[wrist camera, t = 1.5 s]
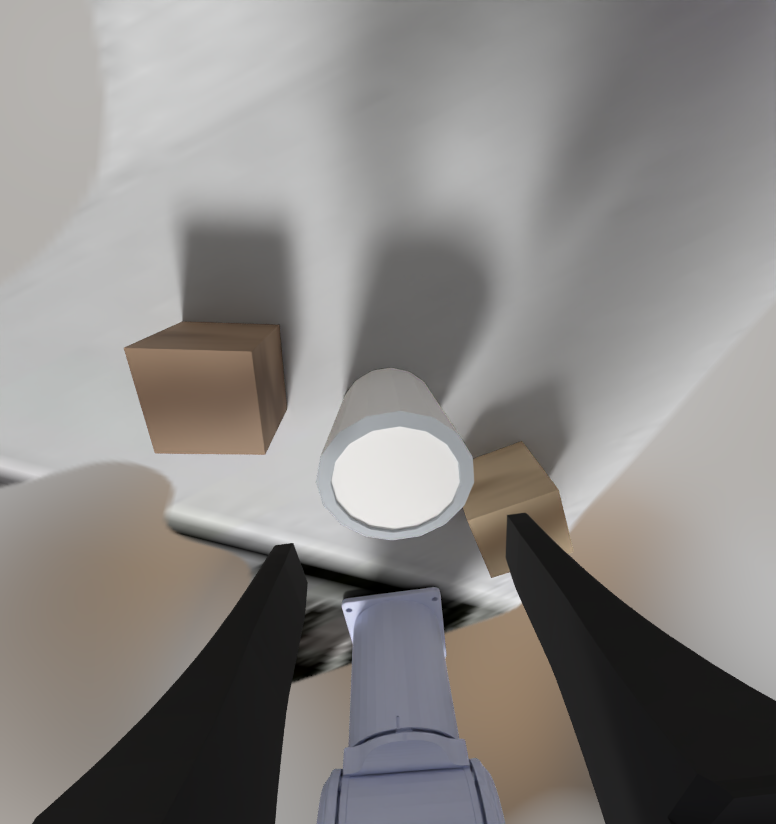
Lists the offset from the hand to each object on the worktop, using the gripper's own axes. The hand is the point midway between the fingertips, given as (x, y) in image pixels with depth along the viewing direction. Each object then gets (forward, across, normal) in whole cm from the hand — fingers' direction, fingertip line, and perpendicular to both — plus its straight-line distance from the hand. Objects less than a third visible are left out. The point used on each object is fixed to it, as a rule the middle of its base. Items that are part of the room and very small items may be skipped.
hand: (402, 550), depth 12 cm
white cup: (+11, 0, 0) cm, 11 cm away
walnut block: (+11, +8, -4) cm, 14 cm away
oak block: (+11, -6, +7) cm, 14 cm away
